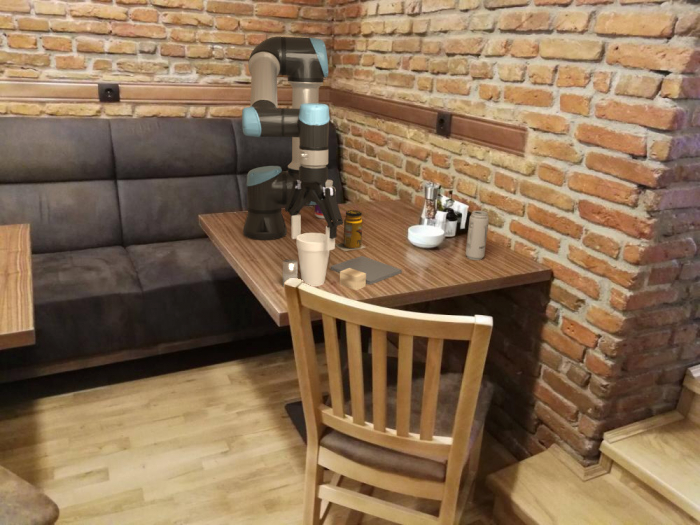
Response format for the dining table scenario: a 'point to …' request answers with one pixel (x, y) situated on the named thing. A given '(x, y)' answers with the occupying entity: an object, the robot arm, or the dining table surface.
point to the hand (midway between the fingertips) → (312, 243)
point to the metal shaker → (290, 269)
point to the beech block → (352, 279)
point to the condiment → (352, 231)
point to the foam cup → (312, 257)
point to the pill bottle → (317, 208)
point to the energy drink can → (477, 235)
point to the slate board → (368, 268)
